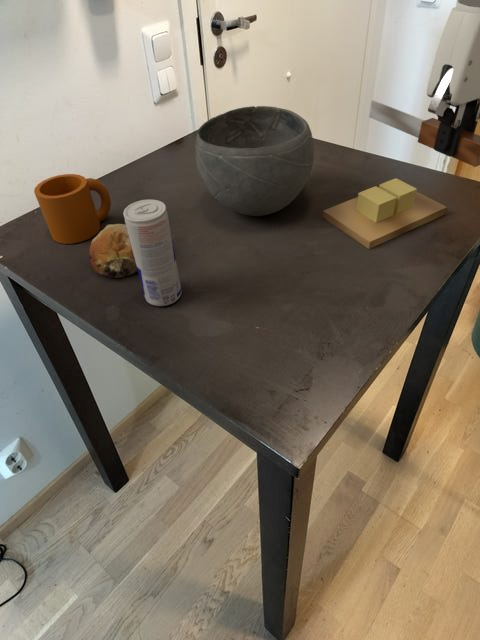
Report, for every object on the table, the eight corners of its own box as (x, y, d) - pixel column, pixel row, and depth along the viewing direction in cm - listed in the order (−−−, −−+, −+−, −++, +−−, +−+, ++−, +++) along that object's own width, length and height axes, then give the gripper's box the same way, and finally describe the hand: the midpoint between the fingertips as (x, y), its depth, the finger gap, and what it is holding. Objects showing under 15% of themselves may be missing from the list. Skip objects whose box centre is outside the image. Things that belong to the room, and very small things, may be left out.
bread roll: (162, 273, 80) (165, 227, 77) (125, 286, 71) (127, 234, 69) (115, 261, 84) (117, 216, 81) (74, 271, 75) (75, 222, 72)
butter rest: (392, 195, 85) (395, 177, 83) (413, 206, 82) (417, 188, 80) (376, 202, 84) (379, 184, 81) (396, 214, 81) (400, 195, 78)
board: (395, 188, 90) (396, 181, 89) (445, 214, 82) (447, 207, 81) (322, 217, 84) (322, 210, 83) (368, 249, 76) (370, 241, 75)
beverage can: (189, 291, 71) (174, 203, 61) (166, 313, 68) (146, 224, 57) (161, 280, 73) (142, 194, 63) (137, 300, 70) (113, 213, 60)
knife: (486, 162, 62) (493, 140, 60) (475, 167, 62) (482, 145, 60) (374, 115, 75) (377, 96, 73) (364, 119, 75) (367, 99, 73)
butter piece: (372, 203, 84) (375, 185, 81) (393, 215, 80) (396, 197, 78) (355, 210, 82) (358, 192, 80) (375, 223, 79) (379, 204, 77)
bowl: (278, 169, 98) (278, 94, 88) (334, 215, 84) (342, 132, 74) (185, 195, 92) (174, 118, 82) (229, 248, 78) (222, 164, 68)
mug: (122, 231, 84) (110, 186, 78) (55, 249, 81) (36, 203, 75) (111, 209, 90) (99, 165, 84) (49, 225, 87) (31, 180, 81)
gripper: (510, -23, 57) (466, 127, 70) (418, -3, 52) (389, 156, 64) (569, -16, 53) (511, 143, 65) (475, 8, 47) (432, 177, 60)
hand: (451, 148), depth 65 cm, fingers closed on knife, 2 cm apart
